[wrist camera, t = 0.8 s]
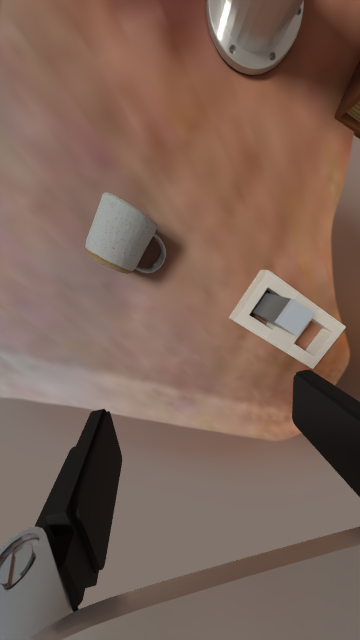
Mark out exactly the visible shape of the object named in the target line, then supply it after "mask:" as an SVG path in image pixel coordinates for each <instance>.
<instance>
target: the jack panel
mask: <svg viewBox="0 0 360 640" xmlns="http://www.w3.org/2000/svg"><path fill="white" fill-rule="evenodd" d="M266 290H267V291H269V292H270V293H272V294H273V295H277V296H282V297H286V298H291V299H295V300H296V301H298V302H299V303H301V304H302V305H303V306H305V307H306V308H308V309H309V310H310V311H312V312H313V313H315V314H314V315H313V317H312V318H311V319H310V321H312V322H313V323H315V324H316V325H318V326H319V327H320V328H322V329H321V330H320V332H319V333H318V334H317V335H316V337H315V338H314V339H313V341H312V342H311V343H310V345H309V346H308V347H307V348H306V350H303V349H302V348H300V347H298V346H297V345H295V344H294V342H295V341H296V340H297V338H298V337H299V336H300V334H301V333H302V332H303V330H304V329H305V328H306V326H307V325H308V324H309V322H310V321H309V322H308V323H307V325H306V326H305V327H304V329H303V330H302V331H301V333H300V334H299V335H298V337H297V336H295V335H293V334H291V333H289V332H287V331H285V330H283V329H281V328H279V327H277V326H275V325H273V324H271V323H268V322H267V324H266V325H264V324H262V323H261V322H259V321H258V320H256V319H254V318H253V317H251V316H250V315H249V314H250V313H251V311H252V310H253V308H254V307H255V305H256V304H257V303H258V301H259V300H260V298H261V297H262V295H263V294H264V292H265V291H266ZM229 318H231V319H232V320H233V321H235V322H237V323H238V324H240V325H242V326H243V327H245V328H246V329H248V330H250V331H251V332H253V333H255V334H256V335H258V336H260V337H261V338H263V339H264V340H266V341H268V342H269V343H271V344H273V345H274V346H276V347H278V348H279V349H281V350H282V351H284V352H286V353H287V354H289V355H291V356H292V357H294V358H295V359H297V360H299V361H300V362H302V363H304V364H305V365H307V366H309V367H310V368H312V369H313V368H314V367H315V366H316V365H317V363H318V362H319V361H320V359H321V358H322V357H323V356H324V354H325V353H326V352H327V351H328V349H329V348H330V347H331V346H332V344H333V343H334V342H335V340H336V339H337V338H338V337H339V335H340V334H341V333H342V332H343V330H344V329H345V328H346V327H345V326H344V325H343V324H341V323H340V322H339V321H337V320H336V319H334V318H333V317H332V316H330V315H329V314H328V313H326V312H325V311H324V310H322V309H321V308H319V307H318V306H317V305H315V304H314V303H313V302H311V301H310V300H309V299H307V298H306V297H304V296H303V295H302V294H300V293H299V292H298V291H296V290H295V289H294V288H292V287H291V286H289V285H288V284H287V283H285V282H284V281H283V280H281V279H280V278H279V277H277V276H276V275H274V274H273V273H272V272H270V271H269V270H260V271H259V273H258V274H257V276H256V277H255V279H254V280H253V282H252V283H251V285H250V286H249V288H248V289H247V291H246V292H245V294H244V295H243V297H242V298H241V300H240V301H239V303H238V304H237V306H236V307H235V309H234V310H233V312H232V313H231V315H230V316H229Z"/></svg>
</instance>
